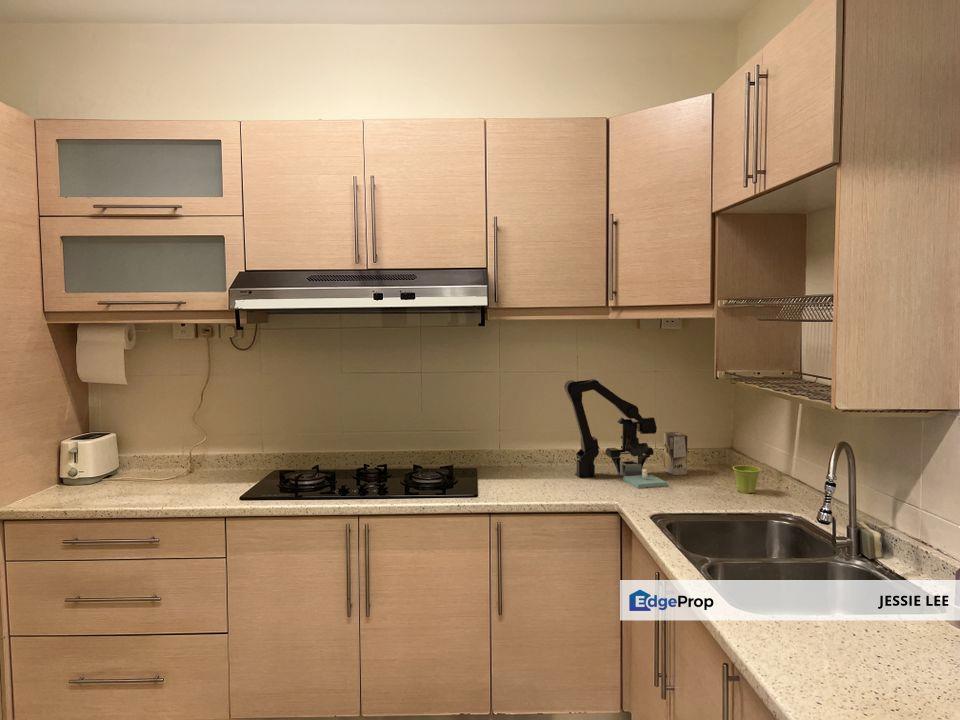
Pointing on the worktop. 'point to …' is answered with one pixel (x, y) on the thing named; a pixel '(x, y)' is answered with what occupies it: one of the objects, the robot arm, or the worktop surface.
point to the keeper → (645, 480)
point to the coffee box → (675, 453)
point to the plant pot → (746, 478)
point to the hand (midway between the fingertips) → (629, 472)
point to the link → (630, 468)
